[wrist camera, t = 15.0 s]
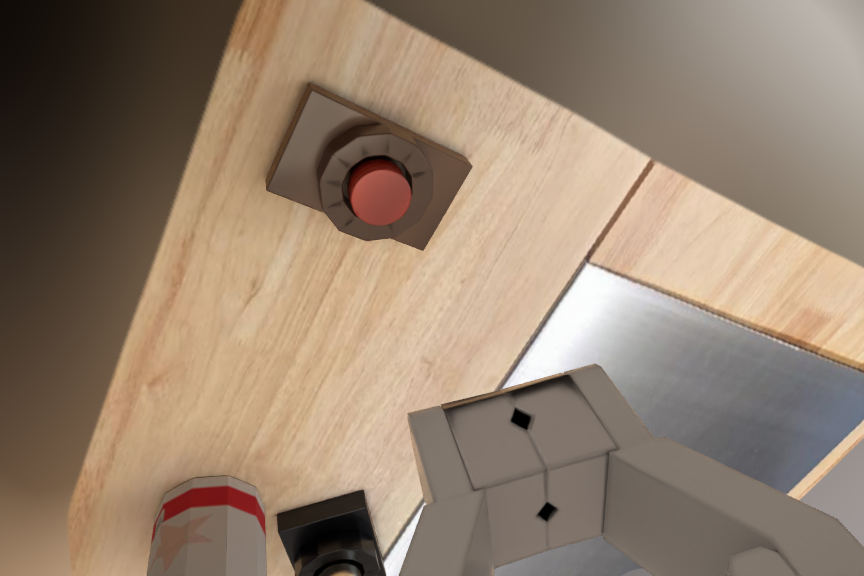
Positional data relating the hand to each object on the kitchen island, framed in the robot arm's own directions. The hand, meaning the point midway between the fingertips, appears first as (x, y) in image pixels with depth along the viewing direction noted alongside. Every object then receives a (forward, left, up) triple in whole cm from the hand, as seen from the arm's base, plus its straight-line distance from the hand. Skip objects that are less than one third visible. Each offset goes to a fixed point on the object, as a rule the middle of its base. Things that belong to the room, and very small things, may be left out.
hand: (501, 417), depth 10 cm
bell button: (+1, -7, -24) cm, 26 cm away
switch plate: (-8, -39, -27) cm, 48 cm away
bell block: (+1, -7, -27) cm, 28 cm away
